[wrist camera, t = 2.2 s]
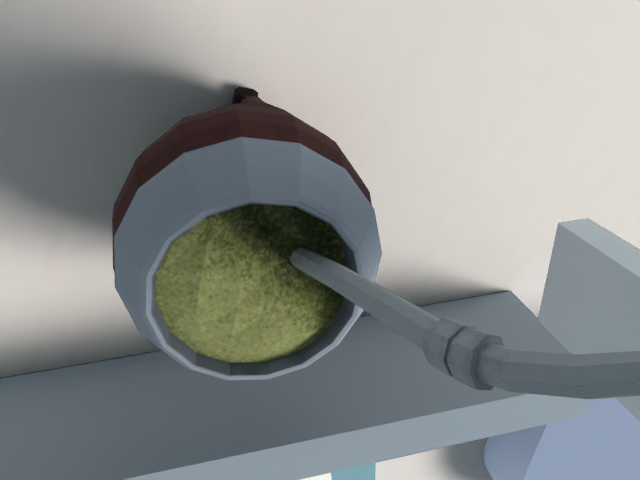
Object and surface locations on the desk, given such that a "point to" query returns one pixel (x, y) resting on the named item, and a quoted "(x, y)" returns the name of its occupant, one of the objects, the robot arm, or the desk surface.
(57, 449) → the low wall
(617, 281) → the robot arm
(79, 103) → the desk surface
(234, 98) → the mate gourd
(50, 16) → the desk surface
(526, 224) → the desk surface
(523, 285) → the desk surface
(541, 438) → the wedge on round base
